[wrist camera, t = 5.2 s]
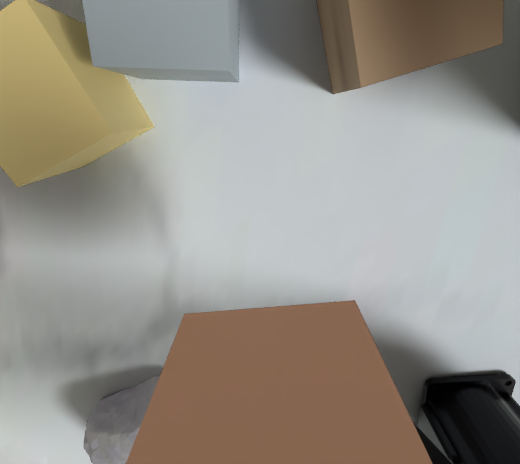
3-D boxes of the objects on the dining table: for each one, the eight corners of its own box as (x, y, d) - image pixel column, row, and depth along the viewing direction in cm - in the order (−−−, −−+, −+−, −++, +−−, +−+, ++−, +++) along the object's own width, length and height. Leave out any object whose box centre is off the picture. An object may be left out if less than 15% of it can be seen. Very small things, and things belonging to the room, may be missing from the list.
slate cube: (239, -40, 14) (227, -116, 9) (239, 82, 16) (228, 70, 11) (130, -43, 14) (62, -122, 9) (143, 79, 15) (92, 66, 11)
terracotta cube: (354, 300, 9) (463, 527, 4) (352, 418, 10) (423, 665, 6) (184, 313, 9) (95, 541, 4) (212, 427, 11) (172, 669, 6)
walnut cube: (421, -59, 13) (506, -149, 9) (429, 64, 15) (503, 43, 10) (312, -19, 14) (336, -84, 9) (332, 94, 16) (360, 87, 11)
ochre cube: (98, 30, 15) (22, -6, 10) (155, 126, 16) (112, 133, 12) (22, 80, 16) (-80, 68, 11) (83, 166, 17) (17, 187, 13)
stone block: (194, 344, 25) (85, 399, 24) (193, 392, 20) (60, 460, 20) (253, 426, 29) (162, 473, 29) (263, 480, 25) (155, 536, 25)
